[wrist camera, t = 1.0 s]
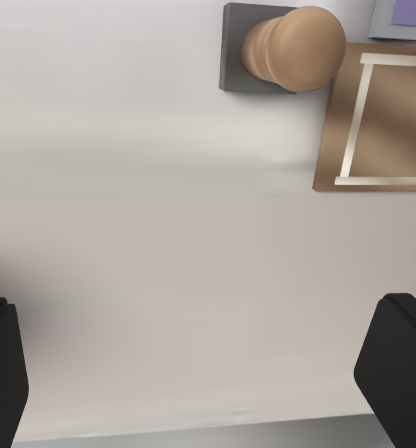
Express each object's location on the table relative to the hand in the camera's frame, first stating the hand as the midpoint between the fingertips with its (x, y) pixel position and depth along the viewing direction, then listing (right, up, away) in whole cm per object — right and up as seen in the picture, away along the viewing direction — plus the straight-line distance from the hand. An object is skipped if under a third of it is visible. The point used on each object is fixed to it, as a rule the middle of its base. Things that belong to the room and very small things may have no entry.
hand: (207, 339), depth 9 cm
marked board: (+19, +13, +25) cm, 34 cm away
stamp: (+4, +17, +20) cm, 27 cm away
